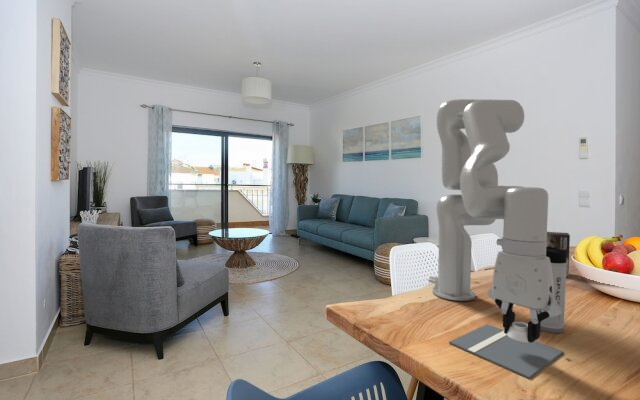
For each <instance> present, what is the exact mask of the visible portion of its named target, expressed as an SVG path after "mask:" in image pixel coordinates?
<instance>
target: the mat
mask: <svg viewBox="0 0 640 400" xmlns="http://www.w3.org/2000/svg"><path fill="white" fill-rule="evenodd" d="M448 343H449V345H451V346H454V347H457V348H458V349H461V350H463V351H465V352H467V353H470V354H472V355H475V356H476V357H479V358H481V359H483V360H485V361H488V362H489V363H492V364H495V365H497V366H499V367H502V368H503V369H506V370H508V371H511V372H513V373H514V374H517V375H519V376H521V377H524V378H526V379H527V380H530V379H531V378H532V377H534V376H535V375H536V374H538V373H540V371H541V370H543V369H544V368H545V367H546V366H548V365H549V364H551V363H552V362H554V361H555V360H556V359H558V358H559V357H560V356H561V355H562V354H564V350H562V349H559V348H556V347H554V346H550V345H547V344H544V343H542V342H539V341H537V340H535V341H534V342H532V343H530V342H529V343H524V342H519V341H516V340H513V339H512V338H510V337H508V336H507V334H505V333H504V328H499V327H498V326H497V327H496V326H494V325H491V324H489V323H486V324H483V325H482V326H480V327H478V328H476V329H473V330H471V331H469V332H467V333H465V334H463V335H461V336H459V337H456V338H455V339H452V340H449V342H448ZM537 372H538V373H537Z"/></svg>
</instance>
